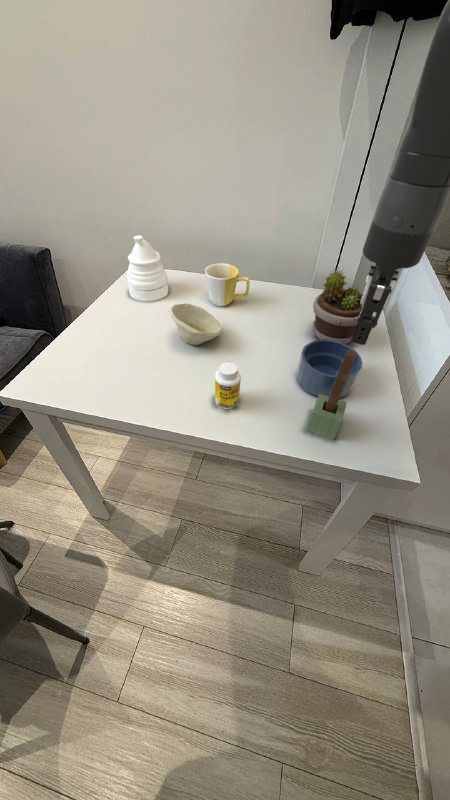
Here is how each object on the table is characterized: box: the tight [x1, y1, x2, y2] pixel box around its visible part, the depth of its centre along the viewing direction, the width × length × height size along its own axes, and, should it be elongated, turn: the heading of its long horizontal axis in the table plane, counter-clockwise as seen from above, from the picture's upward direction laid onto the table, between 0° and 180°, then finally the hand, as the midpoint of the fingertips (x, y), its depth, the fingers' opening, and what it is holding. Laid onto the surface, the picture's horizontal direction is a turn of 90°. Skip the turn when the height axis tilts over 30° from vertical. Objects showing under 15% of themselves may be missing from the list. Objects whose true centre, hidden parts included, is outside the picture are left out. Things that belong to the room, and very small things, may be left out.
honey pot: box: [126, 235, 169, 302], centre depth 103 cm, size 13×13×18 cm
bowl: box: [168, 303, 224, 346], centre depth 88 cm, size 15×14×10 cm
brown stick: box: [324, 350, 358, 413], centre depth 64 cm, size 2×2×20 cm
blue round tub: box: [295, 339, 363, 399], centre depth 79 cm, size 14×14×8 cm
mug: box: [204, 262, 250, 307], centre depth 102 cm, size 14×10×10 cm
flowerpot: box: [312, 266, 363, 345], centre depth 88 cm, size 14×15×20 cm
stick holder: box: [306, 394, 348, 440], centre depth 69 cm, size 6×6×6 cm
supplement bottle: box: [214, 361, 242, 410], centre depth 72 cm, size 6×6×10 cm
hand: (361, 328), depth 53 cm, fingers open, 8 cm apart
